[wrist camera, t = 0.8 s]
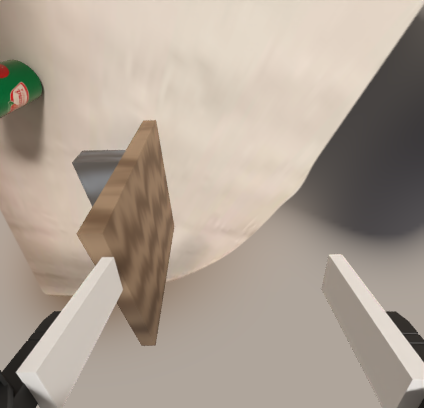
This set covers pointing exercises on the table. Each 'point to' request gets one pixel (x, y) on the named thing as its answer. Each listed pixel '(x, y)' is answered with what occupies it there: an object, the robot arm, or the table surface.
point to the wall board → (130, 223)
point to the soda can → (17, 86)
